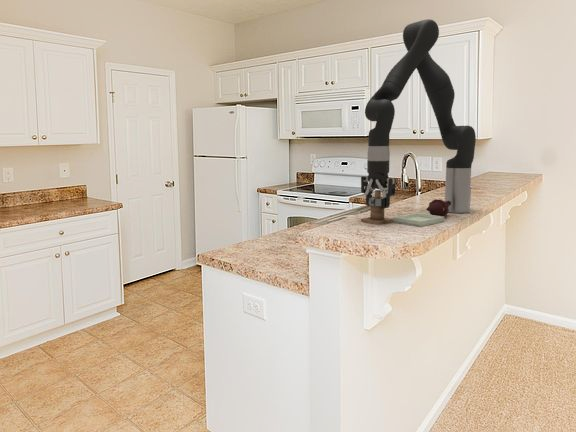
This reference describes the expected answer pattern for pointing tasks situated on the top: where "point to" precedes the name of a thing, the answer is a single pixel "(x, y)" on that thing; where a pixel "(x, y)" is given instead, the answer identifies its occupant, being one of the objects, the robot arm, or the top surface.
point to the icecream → (438, 207)
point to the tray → (418, 219)
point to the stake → (377, 213)
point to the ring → (376, 201)
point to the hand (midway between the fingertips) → (377, 206)
